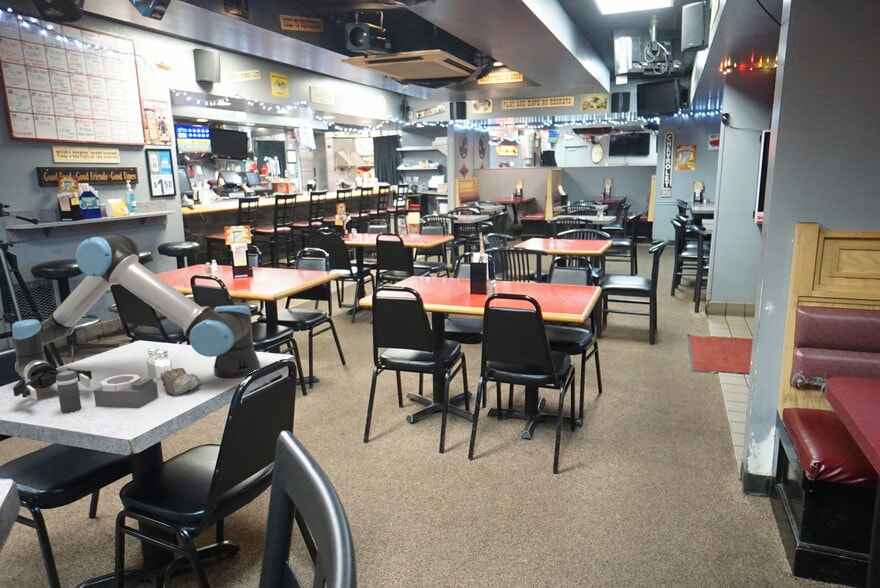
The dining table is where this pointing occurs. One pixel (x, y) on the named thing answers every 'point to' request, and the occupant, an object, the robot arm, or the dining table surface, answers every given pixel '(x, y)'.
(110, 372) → the dining table surface
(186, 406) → the dining table surface
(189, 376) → the grey brown rock
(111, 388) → the pen holder base
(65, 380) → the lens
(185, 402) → the dining table surface
